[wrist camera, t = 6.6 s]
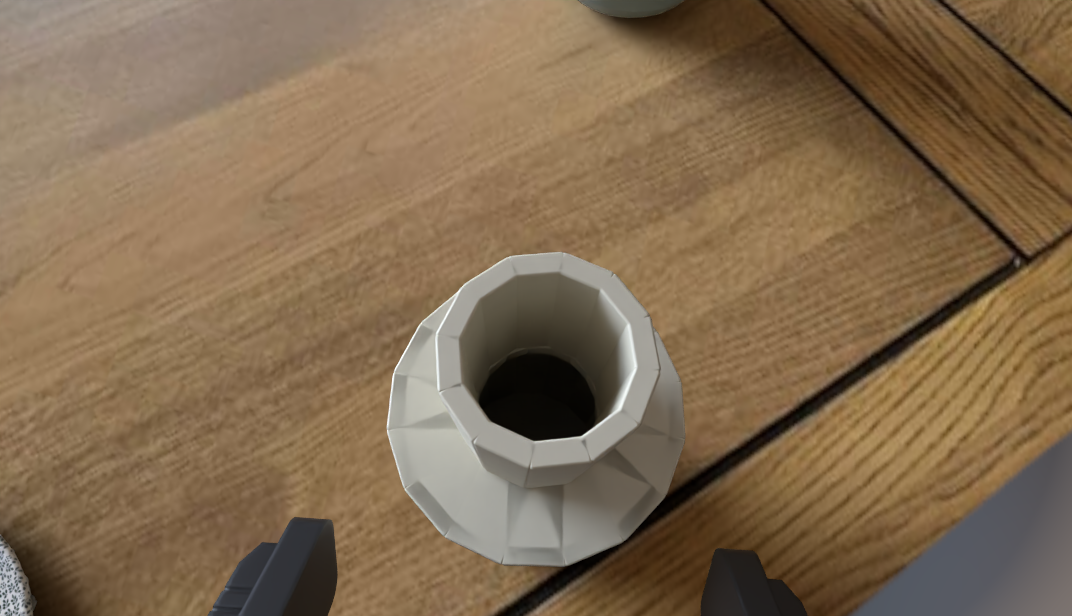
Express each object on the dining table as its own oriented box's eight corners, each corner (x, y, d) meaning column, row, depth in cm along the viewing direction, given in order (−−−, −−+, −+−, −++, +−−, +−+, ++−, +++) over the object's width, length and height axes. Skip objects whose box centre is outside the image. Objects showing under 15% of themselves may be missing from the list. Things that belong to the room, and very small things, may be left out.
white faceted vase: (626, 424, 25) (802, 260, 10) (568, 577, 22) (677, 671, 7) (489, 363, 25) (454, 122, 10) (419, 505, 23) (248, 461, 8)
